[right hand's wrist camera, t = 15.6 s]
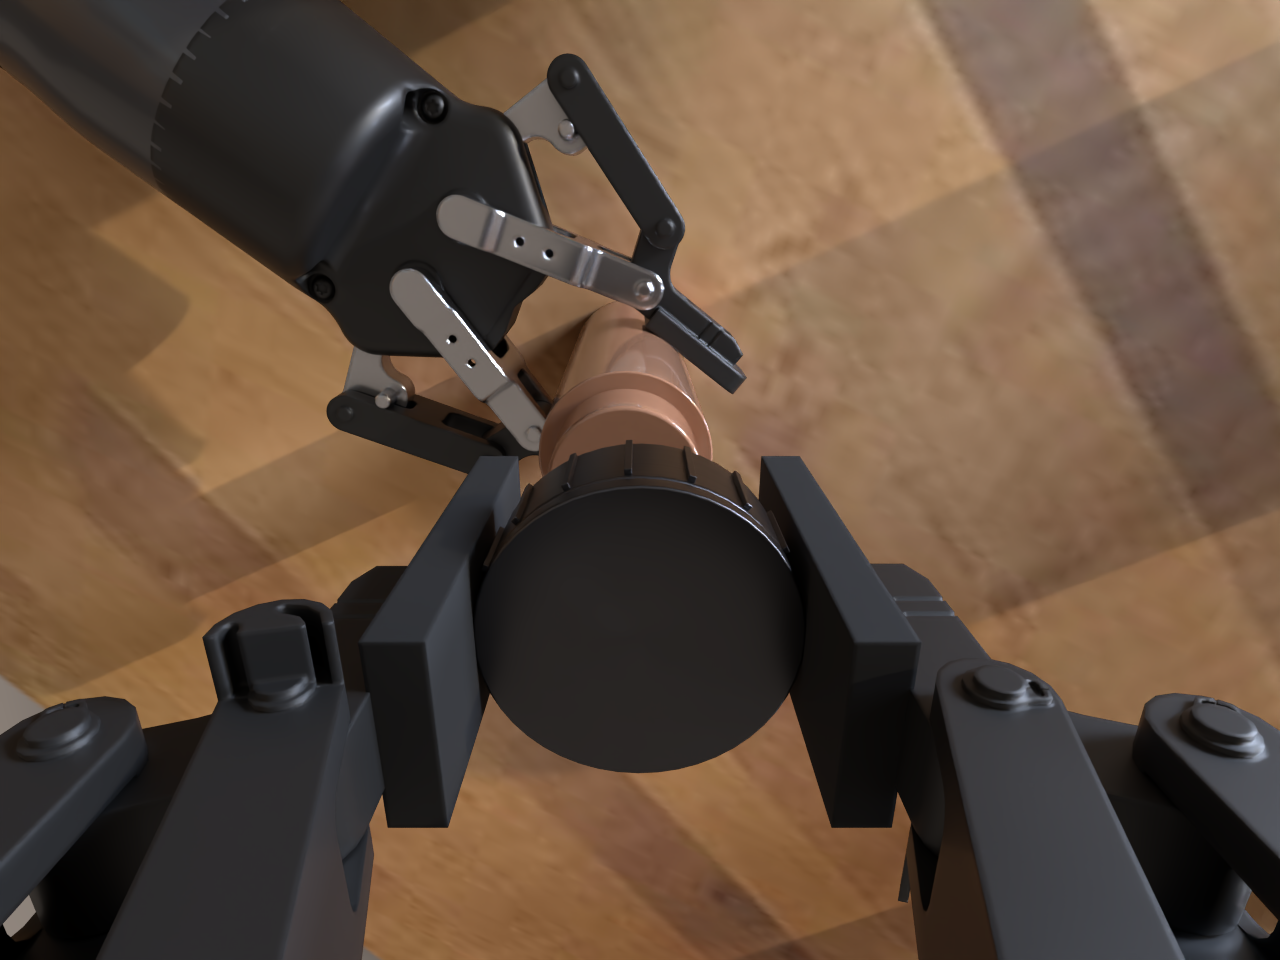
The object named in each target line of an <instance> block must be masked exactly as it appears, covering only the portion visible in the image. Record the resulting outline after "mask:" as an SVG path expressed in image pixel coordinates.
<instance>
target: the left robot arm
mask: <svg viewBox="0 0 1280 960" xmlns="http://www.w3.org/2000/svg"><path fill="white" fill-rule="evenodd" d="M0 67H1V68H3V69H4V70H5V71H7V72H8V73H9V74H10V75H11V76H13V77H14V78H15V79H16V80H18V81H19V82H20V83H22V84H23V85H24V86H26V87H27V88H28V89H29V90H30V91H31V92H33V93H34V94H35V95H36V96H37V97H38V98H39V99H40V100H41V101H43V102H44V103H45V104H46V105H47V106H48V107H49V108H50V109H51V110H52V111H53V112H55V113H56V114H57V115H58V116H59V117H60V118H61V119H63V120H64V121H65V122H66V123H67V124H68V125H70V126H71V127H72V128H73V129H74V130H75V131H77V132H78V133H79V134H80V135H82V136H83V137H84V138H85V139H87V140H88V141H89V142H91V143H92V144H93V145H95V146H96V147H97V148H99V149H100V150H101V151H103V152H104V153H106V154H107V155H109V156H110V157H111V158H113V159H114V160H116V161H117V162H118V163H120V164H121V165H123V166H124V167H126V168H127V169H128V170H130V171H131V172H133V173H134V174H135V175H137V176H138V177H140V178H141V179H142V180H144V181H145V182H147V183H148V184H150V185H151V186H152V187H154V188H155V189H157V190H158V191H159V192H161V193H162V194H164V195H165V196H166V197H168V198H169V199H171V200H172V201H174V202H175V203H176V204H178V205H179V206H181V207H182V208H184V209H185V210H186V211H188V212H189V213H191V214H192V215H194V216H195V217H196V218H198V219H199V220H201V221H202V222H203V223H205V224H206V225H207V226H209V227H210V228H212V229H213V230H215V231H216V232H217V233H219V234H220V235H222V236H223V237H224V238H226V239H227V240H229V241H230V242H232V243H233V244H234V245H236V246H237V247H239V248H240V249H241V250H243V251H244V252H246V253H247V254H248V255H250V256H251V257H253V258H254V259H256V260H257V261H258V262H260V263H261V264H263V265H264V266H265V267H267V268H268V269H270V270H271V271H272V272H274V273H275V274H277V275H278V276H280V277H281V278H282V279H284V280H285V281H287V282H288V283H289V284H291V285H292V286H294V287H295V288H297V289H298V290H300V291H301V292H303V293H305V294H306V295H308V296H309V297H311V298H313V299H314V300H316V301H317V302H319V303H320V304H322V305H323V306H324V307H325V308H326V309H327V310H328V311H329V312H330V313H331V315H332V316H333V317H334V319H335V320H336V322H337V323H338V325H339V327H340V329H341V330H342V332H343V334H344V336H345V337H346V338H347V339H348V341H349V342H350V343H351V344H352V345H354V349H353V353H352V357H351V361H350V365H349V370H348V374H347V378H346V382H345V386H344V390H343V392H342V393H341V394H339V395H338V396H336V397H335V398H333V399H332V400H331V401H330V402H329V403H328V406H327V417H328V419H329V421H330V422H331V424H332V425H333V426H334V427H336V428H337V429H339V430H342V431H345V432H347V433H350V434H353V435H356V436H359V437H362V438H365V439H368V440H371V441H374V442H377V443H379V444H382V445H385V446H388V447H391V448H394V449H397V450H400V451H403V452H406V453H409V454H412V455H414V456H417V457H420V458H423V459H426V460H429V461H432V462H435V463H438V464H441V465H444V466H447V467H449V468H452V469H455V470H458V471H461V472H464V473H467V474H469V472H470V471H471V469H472V468H473V466H474V465H475V463H476V462H477V460H478V458H479V457H480V456H518V461H519V460H521V459H522V458H524V457H527V456H530V455H539V442H540V436H541V432H542V429H543V426H544V423H545V421H546V418H547V415H548V413H549V410H550V408H551V405H552V403H553V400H552V399H551V398H550V396H549V395H548V394H547V392H546V391H545V390H544V389H543V387H542V386H541V385H540V383H539V382H538V381H537V380H536V378H535V377H534V376H533V374H532V373H531V372H530V370H529V369H528V367H527V366H526V363H525V360H524V358H523V357H522V355H521V354H520V352H519V351H518V349H517V348H516V347H515V346H514V344H513V343H512V342H511V340H510V339H509V338H508V336H507V335H506V334H507V333H508V331H509V330H510V329H511V327H512V326H513V324H514V323H515V321H516V318H517V315H518V313H519V310H520V307H521V304H522V302H523V300H524V299H525V298H527V297H528V296H529V295H530V294H532V293H533V292H534V291H535V290H536V289H538V288H539V287H540V286H541V285H542V284H543V282H544V281H545V280H546V278H547V277H548V276H550V277H553V278H555V279H558V280H560V281H563V282H565V283H568V284H571V285H573V286H577V287H580V288H585V289H588V290H591V291H594V292H596V293H599V294H601V295H604V296H606V297H609V298H611V299H614V300H616V301H619V302H621V303H624V304H626V305H629V306H631V307H634V308H635V309H636V310H637V311H639V312H640V313H641V314H642V315H644V319H645V326H646V327H647V328H648V329H650V330H651V331H652V332H653V333H655V334H656V335H657V336H659V337H660V338H661V339H663V340H664V341H665V342H667V343H668V344H669V345H671V346H672V347H673V348H674V349H675V350H676V351H677V352H679V353H680V354H681V355H683V356H684V357H685V358H686V359H688V360H689V361H690V362H691V363H693V364H694V365H695V366H696V367H698V368H699V369H700V370H701V371H703V372H704V373H705V374H706V375H708V376H709V377H710V378H712V379H713V380H714V381H715V382H717V383H718V384H719V385H720V386H722V387H723V388H724V389H725V390H727V391H728V392H730V393H731V394H733V393H734V392H735V391H736V390H737V389H738V388H739V386H740V385H741V384H742V383H743V382H744V380H745V379H746V378H747V377H746V376H745V374H744V373H743V371H742V370H741V369H740V368H739V367H738V366H737V365H736V363H737V362H738V360H739V359H740V358H741V357H742V356H743V353H742V352H741V350H740V348H739V346H738V344H737V342H736V340H735V339H734V338H733V336H732V335H731V334H730V333H729V332H728V331H727V330H726V329H724V328H723V327H722V326H721V325H719V324H718V323H717V322H716V321H715V320H713V319H712V318H711V317H710V316H708V315H707V314H706V313H705V312H704V311H702V310H701V309H700V308H699V307H697V306H696V305H695V304H694V303H693V302H691V301H690V300H689V299H688V298H686V297H685V296H684V295H683V294H682V293H680V292H679V291H678V290H677V289H676V288H675V287H674V286H673V285H672V283H671V279H670V269H671V265H672V262H673V259H674V256H675V253H676V250H677V247H678V244H679V243H680V241H681V240H682V238H683V236H684V232H685V223H684V220H683V218H682V216H681V214H680V213H679V211H678V210H677V208H676V206H675V205H674V203H673V202H672V200H671V198H670V197H669V195H668V194H667V192H666V190H665V189H664V187H663V186H662V184H661V182H660V181H659V179H658V178H657V176H656V175H655V173H654V171H653V170H652V168H651V167H650V165H649V163H648V162H647V160H646V159H645V157H644V155H643V154H642V152H641V151H640V149H639V148H638V146H637V144H636V143H635V141H634V140H633V138H632V136H631V135H630V133H629V132H628V130H627V128H626V127H625V125H624V124H623V122H622V121H621V119H620V117H619V116H618V114H617V113H616V111H615V109H614V108H613V106H612V105H611V103H610V101H609V100H608V98H607V97H606V95H605V94H604V92H603V90H602V89H601V87H600V86H599V84H598V82H597V81H596V79H595V78H594V76H593V74H592V73H591V71H590V70H589V68H588V66H587V65H586V63H585V62H584V61H583V60H582V59H581V58H580V57H578V56H576V55H574V54H562V55H560V56H558V57H556V58H555V59H554V60H553V61H552V62H551V64H550V66H549V68H548V72H547V78H546V79H545V80H544V81H543V82H541V83H540V84H539V85H538V86H536V87H535V88H534V89H533V90H532V91H530V92H529V93H528V94H527V95H525V96H524V97H523V98H522V99H520V100H519V101H518V102H517V103H515V104H514V105H513V106H512V107H511V108H509V109H508V110H507V111H506V112H504V113H501V112H500V111H498V110H496V109H493V108H490V107H484V106H478V105H473V104H470V103H467V102H465V101H462V100H460V99H459V98H458V97H456V96H455V95H454V94H453V93H451V92H450V91H449V90H448V89H446V88H445V87H444V86H443V85H442V84H440V83H439V82H438V81H437V80H435V79H434V78H433V77H432V76H431V75H429V74H428V73H427V72H426V71H425V70H423V69H422V68H421V67H420V66H418V65H417V64H416V63H415V62H414V61H412V60H411V59H410V58H409V57H408V56H406V55H405V54H404V53H403V52H401V51H400V50H399V49H398V48H397V47H395V46H394V45H393V44H392V43H391V42H389V41H388V40H387V39H386V38H384V37H383V36H382V35H381V34H380V33H378V32H377V31H376V30H375V29H374V28H372V27H371V26H370V25H369V24H368V23H366V22H365V21H364V20H363V19H361V18H360V17H359V16H358V15H357V14H355V13H354V12H353V11H352V10H351V9H349V8H348V7H347V6H346V5H344V4H343V3H342V2H341V1H340V0H0ZM536 139H543V140H546V141H549V142H550V143H551V144H552V145H553V146H554V147H555V148H556V149H557V150H558V151H560V152H561V153H563V154H565V155H569V156H575V155H578V154H580V153H582V152H583V151H585V150H586V149H587V148H588V149H589V151H590V152H591V154H592V155H593V157H594V159H595V160H596V162H597V163H598V165H599V166H600V168H601V169H602V171H603V172H604V174H605V175H606V177H607V178H608V180H609V181H610V183H611V185H612V186H613V188H614V189H615V191H616V192H617V194H618V195H619V197H620V198H621V200H622V201H623V203H624V204H625V206H626V207H627V209H628V211H629V212H630V214H631V215H632V217H633V218H634V220H635V221H636V223H637V224H638V226H639V227H640V229H641V230H640V233H639V236H638V239H637V243H636V246H635V249H634V252H633V255H632V258H631V257H629V256H626V255H624V254H621V253H619V252H617V251H614V250H612V249H609V248H607V247H604V246H602V245H600V244H598V243H596V242H594V241H592V240H590V239H587V238H585V237H582V236H580V235H578V234H575V233H573V232H570V231H568V230H565V229H563V228H561V227H558V226H556V225H553V224H552V222H551V219H550V216H549V213H548V209H547V206H546V203H545V200H544V196H543V193H542V190H541V187H540V184H539V180H538V177H537V174H536V171H535V167H534V164H533V161H532V158H531V155H530V151H529V148H528V145H527V143H529V142H530V141H533V140H536ZM390 356H414V357H442V358H444V359H445V360H446V361H447V363H448V364H449V365H450V366H451V367H452V369H453V370H454V371H455V372H456V374H457V375H458V376H459V377H460V379H461V380H462V381H463V382H464V384H465V385H466V386H467V387H468V388H469V390H470V391H471V392H472V393H473V395H474V396H475V397H476V398H477V399H478V400H480V401H481V402H483V403H486V404H487V405H488V406H489V407H490V408H491V409H492V410H493V411H494V413H495V414H496V415H497V416H498V418H499V419H500V420H501V421H502V422H501V423H500V424H498V423H495V422H492V421H489V420H486V419H484V418H481V417H478V416H475V415H472V414H470V413H467V412H464V411H461V410H458V409H456V408H453V407H450V406H447V405H444V404H441V403H439V402H436V401H433V400H430V399H427V398H425V397H422V396H419V395H416V394H415V387H414V384H413V382H412V381H411V380H410V378H408V377H407V376H406V375H404V374H402V373H400V372H399V371H397V370H396V369H395V367H394V366H393V364H392V363H391V360H390ZM471 359H473V360H475V362H476V364H475V363H473V362H472V361H471Z"/></svg>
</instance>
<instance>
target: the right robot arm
mask: <svg viewBox="0 0 1280 960" xmlns="http://www.w3.org/2000/svg"><path fill="white" fill-rule="evenodd" d="M520 499H521V495H520V479H519V463H518V456H480V457H479V458H478V460H477V462H476V463H475V465H474V466H473V468H472V469H471V471H470V472H469V474H468V475H467V477H466V478H465V480H464V481H463V483H462V484H461V486H460V487H459V489H458V490H457V492H456V494H455V495H454V497H453V498H452V500H451V501H450V503H449V504H448V506H447V507H446V509H445V510H444V512H443V513H442V515H441V516H440V518H439V519H438V521H437V522H436V524H435V525H434V527H433V529H432V530H431V532H430V533H429V535H428V536H427V538H426V539H425V541H424V542H423V544H422V545H421V547H420V548H419V550H418V551H417V553H416V554H415V556H414V557H413V559H412V561H411V562H410V564H409V565H408V566H376V567H374V568H373V569H371V570H370V571H368V572H366V573H365V574H363V575H361V576H360V577H358V578H357V579H355V580H353V581H352V582H351V583H350V584H349V586H348V587H347V588H346V589H345V591H344V592H343V593H342V595H341V596H340V597H339V598H338V602H337V603H335V604H334V605H333V606H332V607H331V609H329V608H328V607H326V606H325V605H324V604H322V603H320V602H315V601H310V600H306V599H291V600H278V601H273V602H268V603H263V604H258V605H255V606H252V607H249V608H247V609H244V610H241V611H238V612H236V613H233V614H232V615H230V616H228V617H227V618H225V619H223V620H221V621H220V622H218V623H216V624H215V625H214V626H213V627H212V628H211V629H210V630H209V631H208V632H207V633H206V634H205V635H204V636H203V637H202V638H203V642H204V646H205V650H206V654H207V658H208V662H209V666H210V670H211V674H212V678H213V682H214V686H215V690H216V694H217V698H218V703H217V705H216V707H215V709H214V711H213V713H212V714H211V715H207V716H203V717H199V718H195V719H190V720H185V721H180V722H175V723H170V724H165V725H160V726H155V727H150V728H145V729H142V727H141V724H140V721H139V717H138V714H137V711H136V708H135V707H134V706H133V705H132V704H130V703H129V702H128V701H126V700H125V699H120V698H113V697H106V696H104V697H96V698H87V699H77V700H73V701H68V702H66V703H65V704H63V703H61V704H58V705H55V706H52V707H49V708H47V709H45V710H44V711H42V712H40V713H38V714H36V715H33V716H31V717H29V718H27V719H25V720H22V721H21V722H19V723H18V724H16V725H15V726H13V727H12V728H10V729H9V730H7V731H6V732H4V733H3V734H1V735H0V960H362V952H363V943H364V935H365V927H366V918H367V910H368V901H369V893H370V884H371V876H372V867H373V859H374V851H373V845H372V838H371V832H370V827H369V823H370V821H371V818H372V816H373V814H374V812H375V809H376V807H377V805H378V803H379V800H380V798H381V796H382V795H383V801H384V807H385V813H386V820H387V826H388V828H448V826H449V823H450V819H451V816H452V813H453V810H454V807H455V803H456V800H457V797H458V794H459V791H460V787H461V784H462V781H463V778H464V775H465V771H466V768H467V765H468V762H469V758H470V755H471V752H472V749H473V746H474V742H475V739H476V736H477V733H478V730H479V726H480V723H481V720H482V717H483V714H484V710H485V707H486V704H487V701H488V698H489V694H490V692H489V690H488V688H487V686H486V683H485V681H484V679H483V677H482V675H481V672H480V668H479V665H478V662H477V659H476V650H475V641H474V629H473V616H474V609H475V602H476V598H477V595H478V592H479V589H480V586H481V582H482V580H483V578H484V575H485V573H486V572H485V571H482V570H481V569H482V566H483V563H484V561H485V559H486V557H487V555H488V552H489V550H490V548H491V546H492V543H493V541H494V539H495V537H496V534H497V532H498V530H499V528H500V527H503V528H505V527H506V525H507V523H508V520H509V518H510V516H511V514H512V512H513V511H514V509H515V508H516V506H517V505H518V503H519V501H520ZM759 501H760V503H761V504H762V506H763V507H764V509H765V511H766V512H768V511H770V510H771V511H772V513H773V514H774V517H775V519H776V521H777V523H778V526H779V528H780V530H781V532H782V535H783V537H784V539H785V541H786V544H787V546H788V548H789V550H790V552H789V553H787V554H786V556H787V559H788V561H789V563H790V566H791V568H792V570H793V573H794V575H795V577H796V580H797V582H798V584H799V588H800V591H801V595H802V598H803V602H804V607H805V615H806V635H805V646H804V654H803V660H802V663H801V666H800V669H799V672H798V675H797V678H796V680H795V682H794V684H793V686H792V688H791V690H790V692H789V693H790V696H791V699H792V702H793V705H794V709H795V712H796V715H797V718H798V721H799V725H800V728H801V731H802V734H803V737H804V741H805V744H806V747H807V750H808V754H809V757H810V760H811V763H812V766H813V770H814V773H815V776H816V779H817V782H818V786H819V789H820V792H821V795H822V798H823V802H824V805H825V808H826V811H827V814H828V818H829V821H830V824H831V827H832V828H892V823H893V817H894V811H895V804H896V798H897V792H898V793H899V796H900V798H901V800H902V802H903V805H904V807H905V809H906V811H907V814H908V816H909V818H910V820H911V827H910V832H909V838H908V844H907V850H906V855H905V861H904V867H903V873H902V878H901V884H900V891H899V897H898V901H902V902H906V903H908V898H909V893H910V891H911V899H912V908H913V916H914V925H915V933H916V942H917V950H918V959H919V960H1280V731H1279V730H1277V729H1276V728H1274V727H1273V726H1271V725H1270V724H1268V723H1267V722H1265V721H1264V720H1262V719H1261V718H1259V717H1257V716H1255V715H1253V714H1250V713H1248V712H1246V711H1244V710H1242V709H1239V708H1238V707H1236V706H1235V705H1233V704H1230V703H1227V702H1224V701H1221V700H1214V698H1210V697H1205V696H1197V695H1188V694H1179V693H1172V694H1165V695H1158V696H1155V697H1153V698H1152V699H1151V700H1150V701H1148V702H1147V703H1146V704H1145V705H1144V709H1143V712H1142V715H1141V719H1140V722H1139V725H1138V726H1136V725H1131V724H1126V723H1121V722H1116V721H1111V720H1106V719H1101V718H1096V717H1091V716H1086V715H1081V714H1078V713H1074V712H1070V711H1067V710H1066V708H1065V706H1064V704H1063V701H1062V700H1061V698H1060V697H1059V696H1058V695H1057V693H1056V692H1055V691H1054V690H1053V688H1052V687H1051V686H1050V685H1049V684H1047V683H1046V682H1044V681H1043V680H1041V679H1040V678H1039V677H1037V676H1036V675H1034V674H1033V673H1031V672H1028V671H1026V670H1024V669H1021V668H1019V667H1017V666H1014V665H1012V664H1009V663H1005V662H1001V661H996V660H992V659H991V658H990V657H989V656H988V654H987V653H986V652H985V651H984V649H983V648H982V647H981V646H980V644H979V643H978V642H977V640H976V639H975V638H974V637H973V635H972V634H971V633H970V632H969V630H968V629H967V628H966V627H965V625H964V624H963V623H962V621H961V620H960V619H959V618H958V616H954V611H953V610H952V609H951V607H950V606H949V605H948V604H947V602H946V601H943V600H942V596H941V595H940V594H939V592H938V591H937V590H936V588H935V587H934V586H933V585H932V583H931V582H930V581H929V580H928V579H927V578H925V577H924V576H922V575H921V574H919V573H917V572H916V571H914V570H912V569H911V568H909V567H908V566H906V565H904V564H870V563H869V561H868V560H867V558H866V557H865V555H864V554H863V552H862V551H861V549H860V548H859V546H858V545H857V543H856V541H855V540H854V538H853V537H852V535H851V534H850V532H849V531H848V529H847V528H846V526H845V525H844V523H843V522H842V520H841V519H840V517H839V516H838V514H837V513H836V511H835V509H834V508H833V506H832V505H831V503H830V502H829V500H828V499H827V497H826V496H825V494H824V493H823V491H822V490H821V488H820V487H819V485H818V484H817V482H816V481H815V479H814V477H813V476H812V474H811V473H810V471H809V470H808V468H807V467H806V465H805V464H804V462H803V461H802V459H801V458H800V456H761V472H760V488H759ZM1252 891H1253V892H1254V894H1255V895H1256V896H1257V897H1258V898H1259V899H1260V900H1261V901H1262V902H1263V904H1264V905H1265V906H1266V907H1267V908H1268V909H1269V910H1270V911H1271V912H1272V914H1273V915H1274V916H1275V917H1276V918H1277V919H1278V922H1277V924H1276V927H1275V929H1274V931H1273V932H1272V933H1271V934H1268V933H1267V932H1266V931H1265V930H1264V929H1262V928H1261V927H1260V926H1259V925H1258V924H1257V923H1256V922H1255V921H1254V919H1253V918H1252V917H1251V916H1250V915H1249V914H1248V912H1247V911H1246V910H1245V906H1246V904H1247V901H1248V899H1249V897H1250V894H1251V892H1252ZM28 895H29V896H30V898H31V901H32V903H33V905H34V908H35V910H36V913H35V914H34V915H33V916H32V917H31V919H30V920H29V921H28V922H27V923H26V924H25V926H24V927H23V928H21V929H20V930H19V931H18V932H17V933H15V934H14V935H13V936H12V937H10V936H9V935H7V933H6V931H5V928H4V926H3V923H4V922H5V921H6V920H7V918H8V917H9V916H10V915H11V914H12V913H13V912H14V911H15V910H16V908H17V907H18V906H19V905H20V904H21V903H22V902H23V901H24V899H25V898H26V897H27V896H28Z"/></svg>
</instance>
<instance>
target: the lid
mask: <svg viewBox="0 0 1280 960" xmlns="http://www.w3.org/2000/svg"><path fill="white" fill-rule="evenodd" d="M789 552H790V550H789V548H788V546H787V544H786V541H785V539H784V537H783V535H782V532H781V530H780V528H779V526H778V523H777V521H776V519H775V517H774V514H773V513H772V511H771V510H770V511H768V512H766V511H765V509H764V507H763V506H762V504H761V503H760V501H759V500H758V499H757V498H756V496H755V495H754V494H753V493H752V492H751V491H750V489H749V488H748V487H747V486H746V485H745V484H744V483H743V481H742V479H741V476H740V474H739V473H738V472H736V471H734V472H733V473H730V472H729V471H727V470H726V469H724V468H723V467H721V466H720V465H718V464H717V463H715V462H713V461H711V460H709V459H706V458H704V457H702V456H700V455H698V454H695V453H692V452H691V449H690V447H687V446H684V447H683V449H679V448H674V447H669V446H664V445H656V444H642V443H640V444H633V440H626V444H621V445H616V446H610V447H604V448H600V449H597V450H594V451H590V452H587V453H584V454H582V455H579V456H577V454H576V453H573V454H571V455H570V457H569V460H568V461H566V462H564V463H563V464H561V465H560V466H558V467H556V468H555V469H553V470H552V471H550V472H549V473H547V474H546V475H545V476H544V477H543V478H541V479H540V480H539V481H538V482H537V483H536V484H534V485H533V486H532V485H531V484H530V483H529V484H528V485H527V486H526V487H525V489H524V492H523V494H522V496H521V499H520V501H519V503H518V505H517V506H516V508H515V509H514V511H513V512H512V514H511V516H510V518H509V520H508V523H507V525H506V527H505V528H503V527H500V528H499V530H498V532H497V534H496V537H495V539H494V541H493V543H492V546H491V548H490V550H489V552H488V555H487V557H486V559H485V561H484V563H483V566H482V569H481V570H482V571H485V572H486V573H485V575H484V578H483V580H482V582H481V586H480V589H479V592H478V595H477V598H476V602H475V609H474V616H473V629H474V641H475V650H476V659H477V662H478V665H479V668H480V672H481V675H482V677H483V679H484V681H485V683H486V686H487V688H488V690H489V692H490V694H491V695H492V697H493V698H494V700H495V701H496V703H497V704H498V706H499V707H500V709H501V710H502V711H503V712H504V713H505V714H506V715H507V717H508V718H509V719H510V720H511V721H512V722H513V723H514V724H515V725H516V726H517V727H518V728H519V729H520V730H522V731H523V732H524V733H525V734H526V735H527V736H529V737H530V738H531V739H533V740H534V741H536V742H537V743H539V744H540V745H542V746H543V747H545V748H547V749H548V750H550V751H552V752H554V753H556V754H558V755H560V756H562V757H564V758H567V759H569V760H572V761H575V762H577V763H580V764H583V765H587V766H591V767H594V768H598V769H604V770H610V771H616V772H628V773H652V772H663V771H670V770H676V769H681V768H685V767H689V766H693V765H696V764H699V763H702V762H705V761H707V760H710V759H713V758H715V757H717V756H719V755H721V754H723V753H725V752H727V751H729V750H731V749H733V748H735V747H736V746H738V745H739V744H741V743H742V742H744V741H745V740H747V739H748V738H750V737H751V736H752V735H753V734H754V733H755V732H757V731H758V730H759V729H760V728H761V727H762V726H764V725H765V723H766V722H767V721H768V720H769V719H770V718H771V717H772V716H773V715H774V714H775V713H776V711H777V710H778V709H779V707H780V706H781V704H782V703H783V702H784V700H785V699H786V697H787V696H788V694H789V692H790V690H791V688H792V686H793V684H794V682H795V680H796V678H797V675H798V672H799V669H800V666H801V663H802V660H803V654H804V646H805V635H806V615H805V607H804V602H803V598H802V595H801V591H800V588H799V584H798V582H797V580H796V577H795V575H794V573H793V570H792V568H791V566H790V563H789V561H788V559H787V556H786V554H787V553H789Z"/></svg>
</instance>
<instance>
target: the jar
mask: <svg viewBox="0 0 1280 960" xmlns="http://www.w3.org/2000/svg"><path fill="white" fill-rule="evenodd" d="M626 440H633V444H640V443H642V444H656V445H664V446H669V447H674V448H679V449H683V447H684V446H687V447H690V449H691V452H692V453H695V454H698V455H700V456H702V457H704V458H706V459H709V460H711V461H712V442H711V436H710V432H709V429H708V426H707V423H706V420H705V417H704V414H703V411H702V409H701V406H700V403H699V400H698V397H697V394H696V391H695V389H694V386H693V383H692V380H691V377H690V374H689V372H688V369H687V366H686V363H685V360H684V357H683V355H681V354H680V353H679V352H677V351H676V350H675V349H674V348H673V347H672V346H671V345H669V344H668V343H667V342H665V341H664V340H663V339H661V338H660V337H659V336H657V335H656V334H655V333H653V332H652V331H651V330H650V329H648V328H647V327H646V326H645V319H644V315H642V314H641V313H640V312H639V311H637V310H636V309H635V308H634V307H631V306H629V305H626V304H624V303H621V302H619V301H616V302H613V303H609V304H607V305H605V306H603V307H601V308H600V309H598V310H597V311H595V312H594V313H593V314H592V315H591V316H590V317H589V318H588V319H587V321H586V322H585V324H584V325H583V327H582V329H581V331H580V334H579V336H578V339H577V341H576V344H575V346H574V349H573V352H572V354H571V357H570V359H569V362H568V364H567V367H566V369H565V372H564V375H563V377H562V380H561V382H560V385H559V387H558V390H557V392H556V395H555V398H554V400H553V403H552V405H551V408H550V410H549V413H548V415H547V418H546V421H545V423H544V426H543V429H542V432H541V436H540V442H539V464H540V469H541V473H542V477H544V476H545V475H546V474H547V473H549V472H550V471H552V470H553V469H555V468H556V467H558V466H560V465H561V464H563V463H564V462H566V461H568V460H569V457H570V455H571V454H573V453H576V454H577V456H579V455H582V454H584V453H587V452H590V451H594V450H597V449H600V448H604V447H610V446H616V445H621V444H626Z"/></svg>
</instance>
